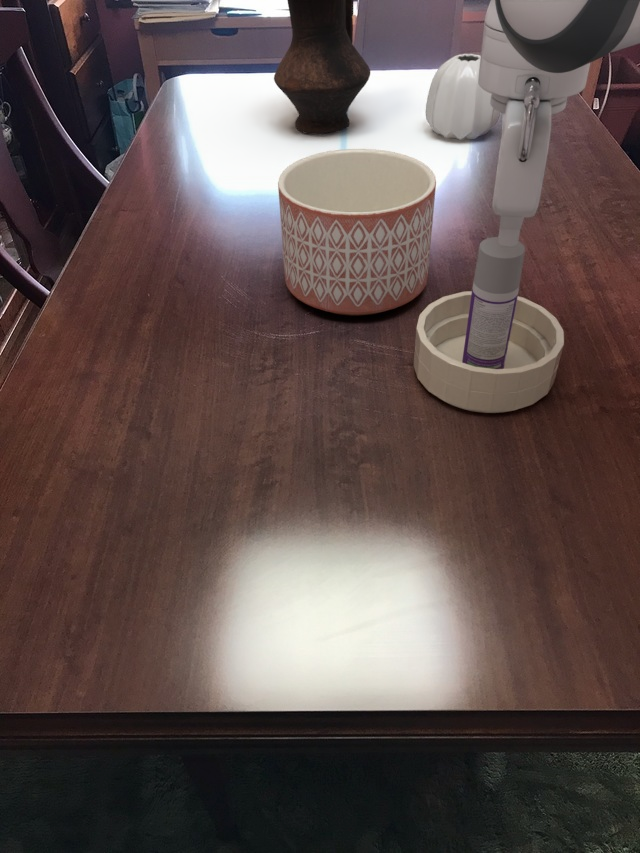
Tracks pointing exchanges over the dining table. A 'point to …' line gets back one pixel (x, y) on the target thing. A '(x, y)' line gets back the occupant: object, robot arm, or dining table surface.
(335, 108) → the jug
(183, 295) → the dining table surface
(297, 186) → the planter
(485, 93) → the vase
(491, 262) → the container
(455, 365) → the bowl
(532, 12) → the robot arm
